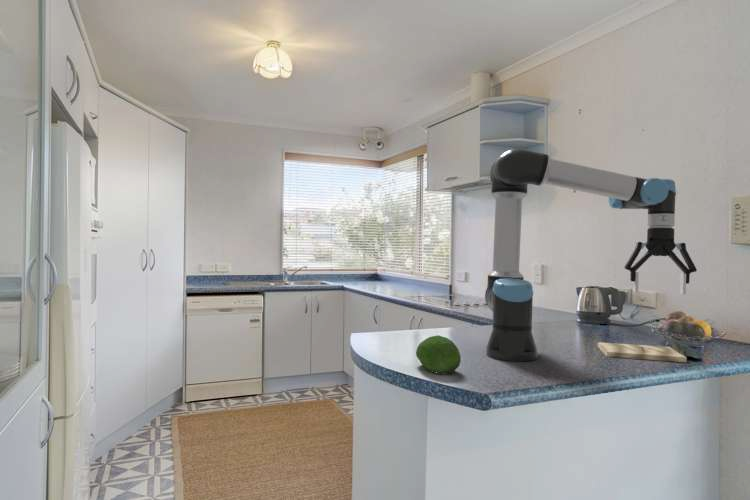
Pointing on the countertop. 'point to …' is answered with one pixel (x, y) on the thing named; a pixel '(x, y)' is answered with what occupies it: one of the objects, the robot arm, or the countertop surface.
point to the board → (641, 352)
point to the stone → (682, 348)
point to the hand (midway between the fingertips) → (658, 292)
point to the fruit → (438, 354)
